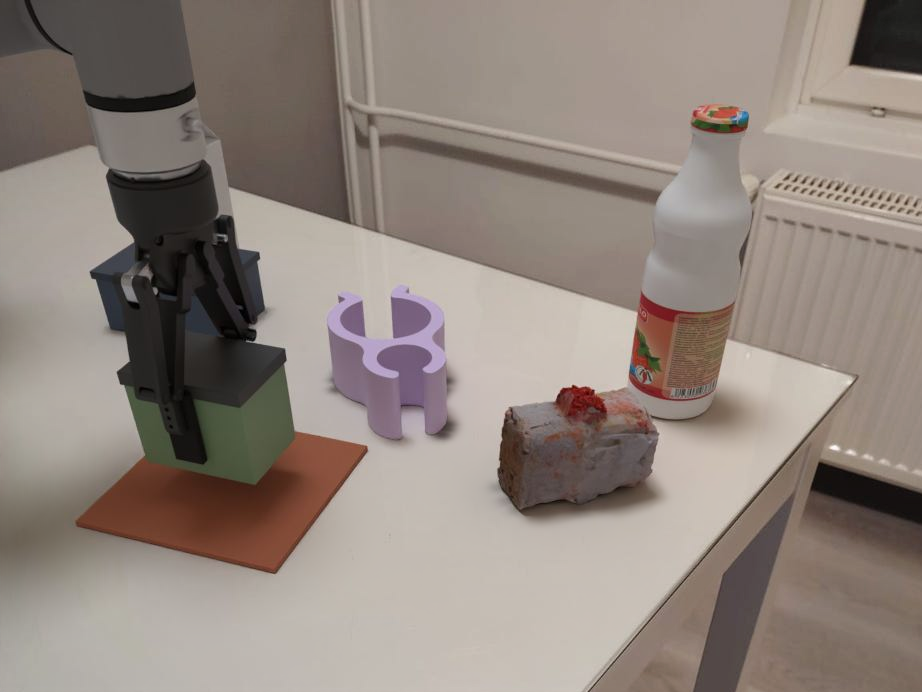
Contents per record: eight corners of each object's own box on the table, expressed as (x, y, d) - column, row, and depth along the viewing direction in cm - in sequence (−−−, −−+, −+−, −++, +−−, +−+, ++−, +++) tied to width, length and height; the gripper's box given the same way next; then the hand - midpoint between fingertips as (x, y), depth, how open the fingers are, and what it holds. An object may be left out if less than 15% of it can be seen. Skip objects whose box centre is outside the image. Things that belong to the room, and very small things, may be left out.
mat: (76, 525, 81) (74, 521, 81) (193, 414, 95) (192, 410, 94) (275, 573, 77) (274, 569, 77) (368, 449, 90) (367, 445, 90)
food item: (617, 449, 91) (630, 360, 84) (655, 494, 86) (672, 402, 79) (492, 475, 87) (494, 384, 80) (522, 523, 82) (528, 430, 75)
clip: (473, 428, 93) (474, 367, 88) (355, 445, 91) (349, 383, 86) (428, 339, 107) (426, 282, 102) (323, 352, 104) (316, 294, 99)
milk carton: (196, 252, 124) (163, 96, 110) (242, 259, 122) (214, 102, 108) (167, 272, 119) (129, 112, 105) (214, 281, 117) (181, 119, 104)
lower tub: (106, 329, 108) (88, 271, 103) (159, 289, 115) (146, 233, 110) (221, 350, 104) (209, 291, 99) (268, 308, 112) (259, 251, 107)
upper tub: (143, 462, 81) (115, 371, 75) (192, 415, 87) (170, 327, 80) (256, 487, 79) (237, 395, 72) (299, 437, 84) (285, 348, 78)
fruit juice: (701, 429, 94) (766, 134, 74) (615, 410, 96) (654, 119, 76) (720, 387, 100) (784, 103, 80) (638, 370, 102) (680, 90, 82)
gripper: (116, 222, 57) (193, 507, 74) (271, 127, 72) (307, 383, 88) (18, 207, 59) (114, 490, 75) (189, 117, 73) (239, 371, 89)
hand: (218, 432), depth 82 cm, fingers closed on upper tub, 8 cm apart
